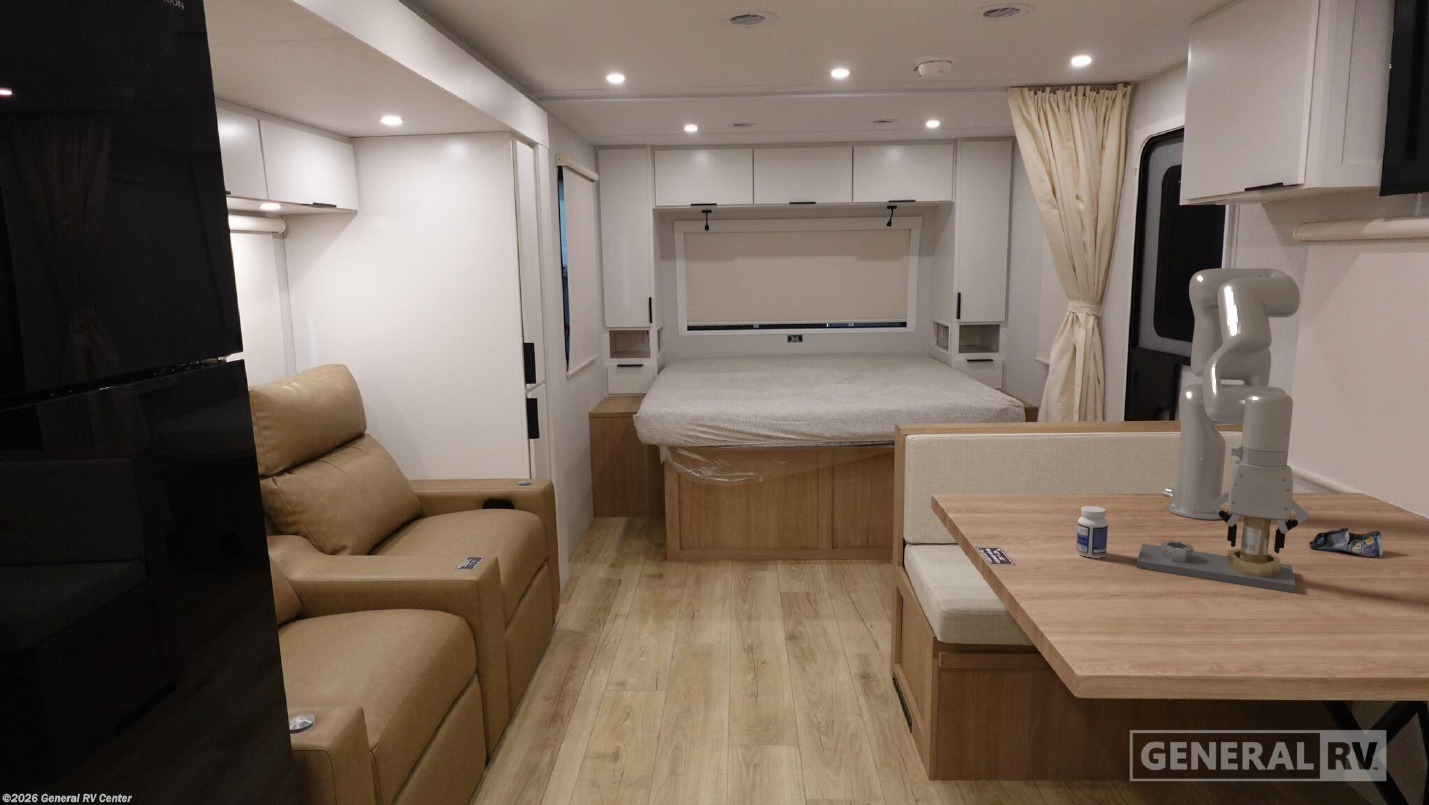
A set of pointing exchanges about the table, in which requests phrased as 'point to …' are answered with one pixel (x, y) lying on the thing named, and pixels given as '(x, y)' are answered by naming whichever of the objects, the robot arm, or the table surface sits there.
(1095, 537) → the pill bottle
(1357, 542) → the snack package
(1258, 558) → the sprinkles bottle
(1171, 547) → the steel collar
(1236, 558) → the brass collar
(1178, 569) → the mounting board
